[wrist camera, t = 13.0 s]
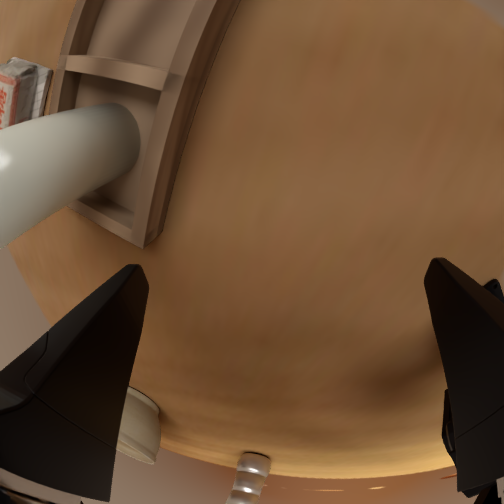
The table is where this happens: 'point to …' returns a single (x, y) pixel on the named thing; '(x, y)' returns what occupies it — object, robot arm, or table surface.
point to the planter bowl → (139, 428)
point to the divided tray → (140, 94)
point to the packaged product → (22, 91)
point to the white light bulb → (61, 162)
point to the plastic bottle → (249, 479)
